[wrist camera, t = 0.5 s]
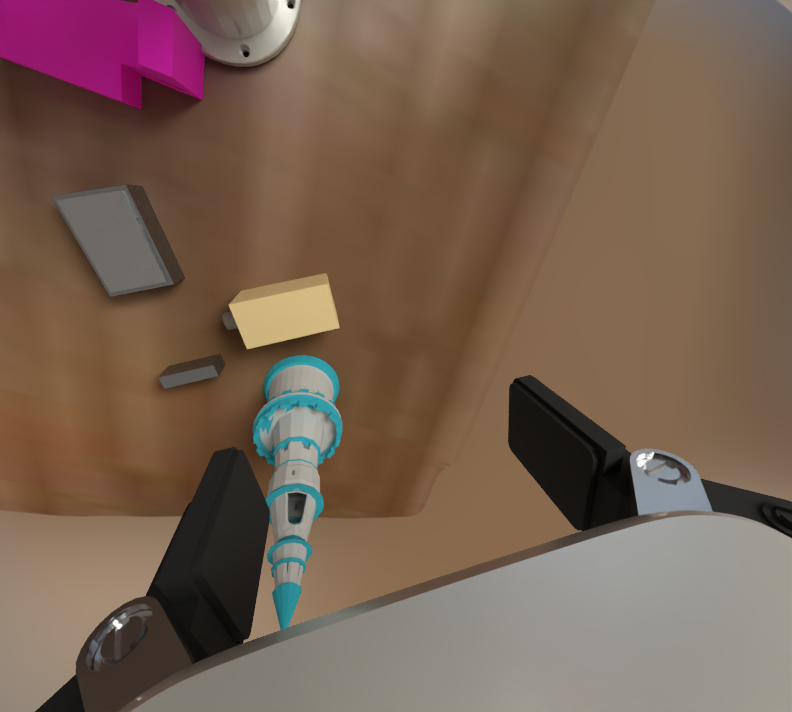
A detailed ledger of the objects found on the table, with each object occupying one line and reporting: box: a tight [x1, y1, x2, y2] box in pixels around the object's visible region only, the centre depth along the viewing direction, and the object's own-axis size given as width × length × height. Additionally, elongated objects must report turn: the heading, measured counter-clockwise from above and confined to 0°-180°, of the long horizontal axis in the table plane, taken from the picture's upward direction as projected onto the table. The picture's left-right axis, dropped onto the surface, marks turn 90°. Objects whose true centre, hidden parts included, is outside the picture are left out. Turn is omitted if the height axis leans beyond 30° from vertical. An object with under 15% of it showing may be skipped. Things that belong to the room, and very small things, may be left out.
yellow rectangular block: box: [222, 273, 339, 349], centre depth 36 cm, size 5×12×6 cm, turn 99°
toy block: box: [0, 0, 205, 110], centre depth 23 cm, size 15×6×8 cm, turn 72°
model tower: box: [253, 355, 343, 630], centre depth 30 cm, size 10×10×30 cm
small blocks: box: [51, 185, 225, 389], centre depth 33 cm, size 20×6×3 cm, turn 9°
